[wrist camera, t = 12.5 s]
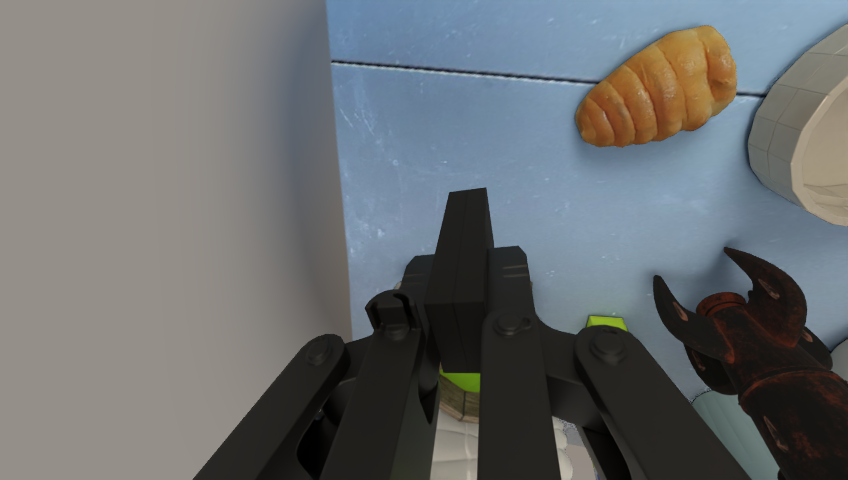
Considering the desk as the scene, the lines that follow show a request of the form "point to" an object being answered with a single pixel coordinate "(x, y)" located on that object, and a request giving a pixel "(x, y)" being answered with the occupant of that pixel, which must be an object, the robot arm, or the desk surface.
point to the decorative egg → (840, 360)
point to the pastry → (661, 90)
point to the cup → (737, 434)
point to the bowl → (807, 132)
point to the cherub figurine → (475, 450)
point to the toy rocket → (768, 367)
